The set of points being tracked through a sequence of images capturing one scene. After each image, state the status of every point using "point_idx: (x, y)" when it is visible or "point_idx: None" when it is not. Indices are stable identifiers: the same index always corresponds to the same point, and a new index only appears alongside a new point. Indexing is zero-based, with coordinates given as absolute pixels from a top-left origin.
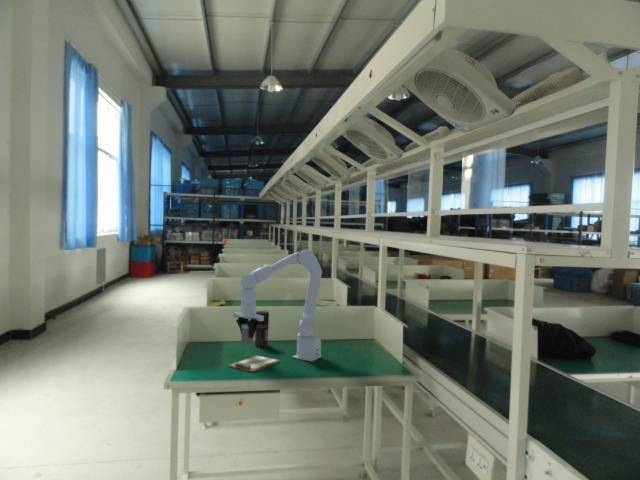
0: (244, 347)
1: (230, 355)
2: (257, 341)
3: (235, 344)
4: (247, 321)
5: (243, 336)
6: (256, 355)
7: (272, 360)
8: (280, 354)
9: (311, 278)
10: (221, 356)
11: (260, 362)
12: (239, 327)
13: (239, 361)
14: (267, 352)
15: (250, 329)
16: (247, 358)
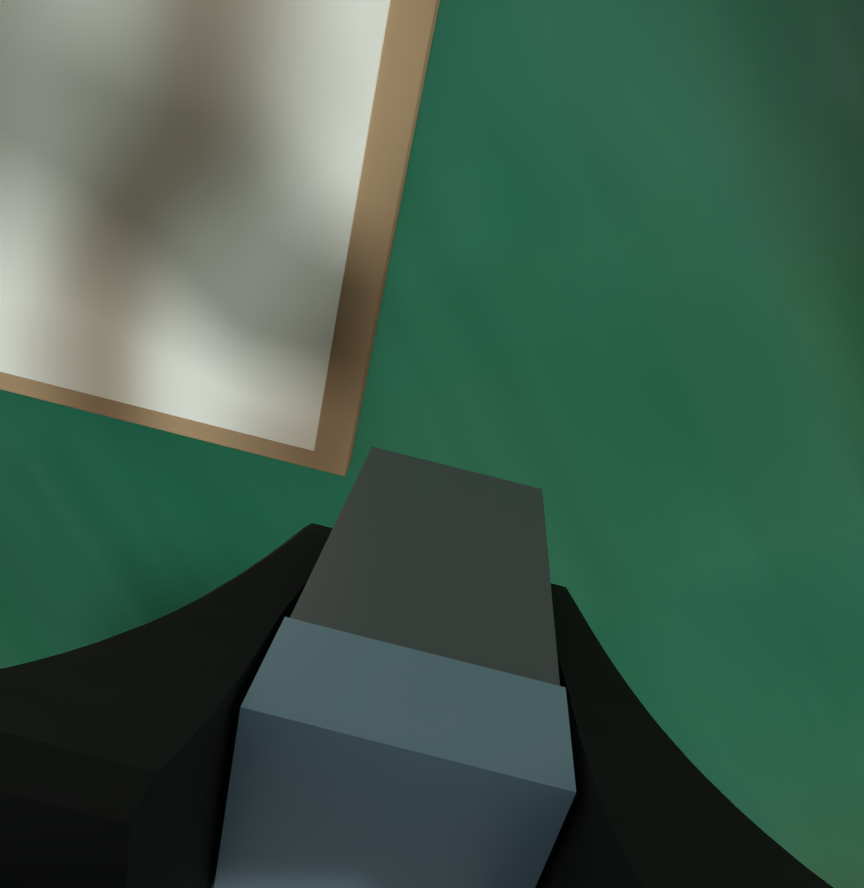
0: None
1: (720, 407)
2: None
3: (842, 846)
4: (120, 787)
5: (485, 532)
6: (330, 466)
7: (9, 321)
8: None
9: None
10: (844, 312)
11: (87, 161)
12: (661, 729)
13: (408, 86)
14: None
15: (201, 608)
16: (373, 290)
